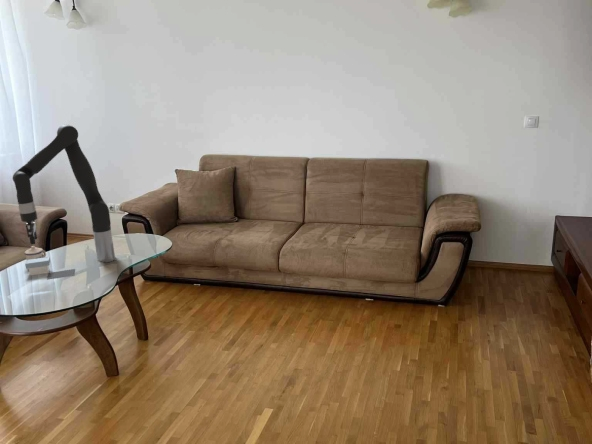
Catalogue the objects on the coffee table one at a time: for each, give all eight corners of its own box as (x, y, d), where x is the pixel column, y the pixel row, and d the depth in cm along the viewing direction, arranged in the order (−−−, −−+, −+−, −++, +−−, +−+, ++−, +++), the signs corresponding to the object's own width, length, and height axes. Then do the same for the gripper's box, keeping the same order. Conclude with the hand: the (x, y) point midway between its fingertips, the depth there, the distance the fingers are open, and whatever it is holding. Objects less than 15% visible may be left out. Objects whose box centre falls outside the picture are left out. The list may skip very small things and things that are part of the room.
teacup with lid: (36, 270, 294) (32, 249, 291) (23, 269, 297) (19, 248, 294) (53, 262, 305) (49, 242, 302) (40, 261, 308) (36, 241, 305)
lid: (50, 261, 292) (49, 256, 291) (49, 265, 286) (48, 260, 285) (27, 264, 289) (26, 259, 288) (26, 268, 283) (25, 263, 282)
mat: (75, 270, 291) (75, 268, 291) (74, 277, 282) (74, 275, 282) (48, 274, 287) (48, 272, 287) (47, 281, 278) (46, 279, 278)
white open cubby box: (49, 270, 293) (48, 261, 291) (49, 274, 288) (47, 265, 286) (31, 273, 290) (29, 264, 289) (30, 277, 285) (28, 268, 284)
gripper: (34, 213, 274) (40, 244, 278) (37, 206, 287) (43, 236, 291) (17, 215, 271) (24, 246, 276) (21, 208, 284) (27, 238, 289)
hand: (34, 241), depth 284 cm, fingers open, 8 cm apart
